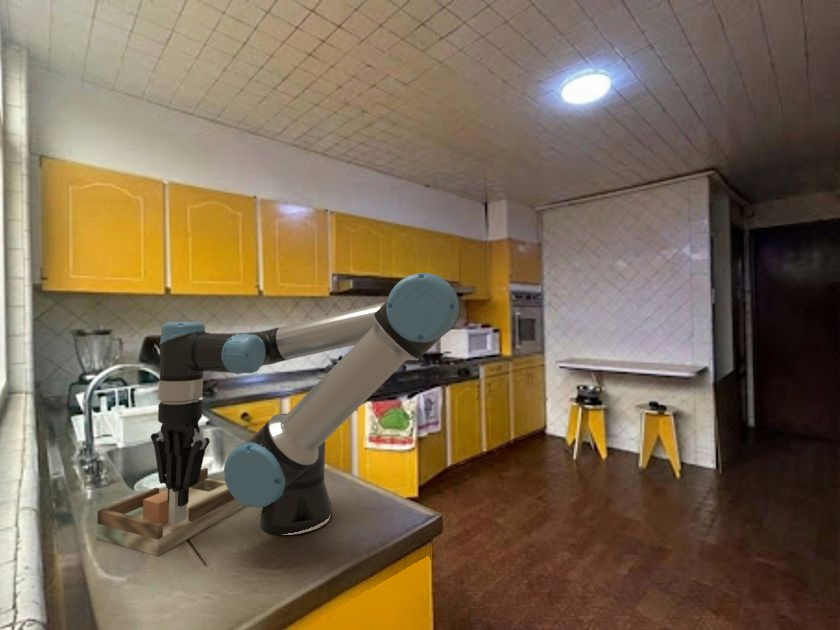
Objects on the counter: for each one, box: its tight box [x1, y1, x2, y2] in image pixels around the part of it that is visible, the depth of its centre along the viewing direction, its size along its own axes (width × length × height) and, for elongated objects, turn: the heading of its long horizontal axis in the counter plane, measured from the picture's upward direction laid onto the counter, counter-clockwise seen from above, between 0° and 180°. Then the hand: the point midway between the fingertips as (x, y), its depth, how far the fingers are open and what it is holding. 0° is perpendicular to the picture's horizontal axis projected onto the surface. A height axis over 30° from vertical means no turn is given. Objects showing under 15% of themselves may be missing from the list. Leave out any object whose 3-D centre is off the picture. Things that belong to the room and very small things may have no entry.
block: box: [143, 490, 169, 524], centre depth 86 cm, size 4×4×4 cm
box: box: [96, 467, 247, 557], centre depth 93 cm, size 16×26×6 cm, turn 160°
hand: (177, 520), depth 83 cm, fingers closed
